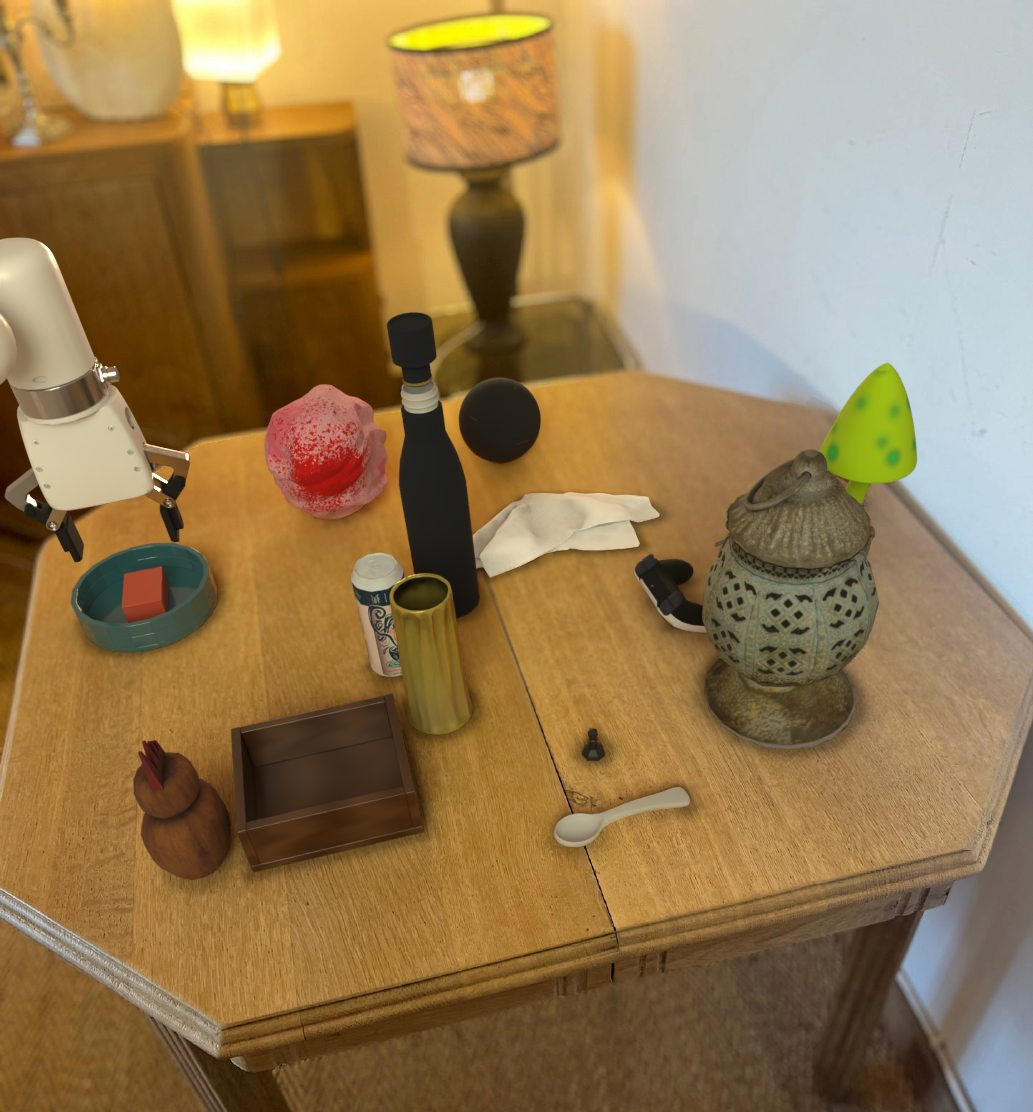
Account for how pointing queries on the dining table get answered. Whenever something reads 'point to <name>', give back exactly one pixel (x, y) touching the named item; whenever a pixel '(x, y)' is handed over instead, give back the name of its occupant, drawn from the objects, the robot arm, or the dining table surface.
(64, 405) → the robot arm
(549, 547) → the cloth
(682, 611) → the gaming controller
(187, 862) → the wooden figurine
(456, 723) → the vase
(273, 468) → the decorative rock
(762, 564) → the lantern
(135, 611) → the red rectangular prism
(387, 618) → the beer can
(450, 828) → the dining table surface
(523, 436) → the speaker
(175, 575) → the bowl
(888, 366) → the mushroom
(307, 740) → the holder
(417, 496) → the black bottle
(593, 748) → the chess pawn
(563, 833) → the spoon
